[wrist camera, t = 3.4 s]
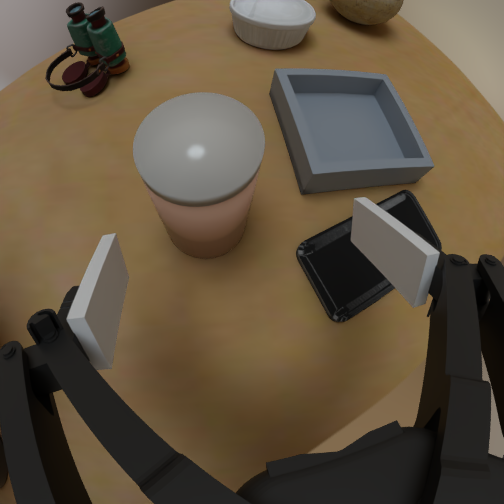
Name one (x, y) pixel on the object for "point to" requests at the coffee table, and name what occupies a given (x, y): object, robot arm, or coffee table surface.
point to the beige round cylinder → (201, 169)
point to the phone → (355, 260)
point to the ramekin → (272, 22)
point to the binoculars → (90, 51)
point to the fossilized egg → (367, 10)
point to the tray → (346, 130)
